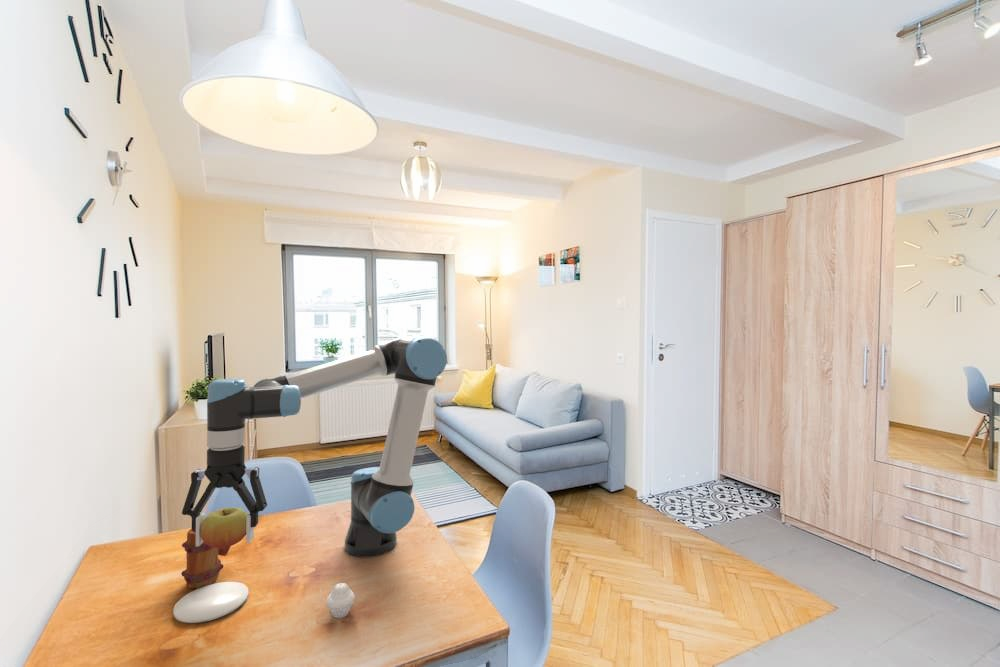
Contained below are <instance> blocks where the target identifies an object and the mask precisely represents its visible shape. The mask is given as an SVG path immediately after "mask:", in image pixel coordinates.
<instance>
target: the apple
mask: <svg viewBox="0 0 1000 667" xmlns="http://www.w3.org/2000/svg"><path fill="white" fill-rule="evenodd" d="M247 514H248V512H246V511H245V510H244V509H243V508H239V507H233V506H230V507H223V508H219V509H216V510H213V511H212V512H211V513H209V514H207V515H206V516H205V519H204V520H203V522H202V524H201V529H200V532H201V538H202V540H203V541H204V543H205V544H207V545H209V546H210V547H214V548H225V547H229V546H231V547H232V546H234V545H236V544H238V543H239V542H241V541H242V540H243V539H244V538H246V515H247Z"/></svg>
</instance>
